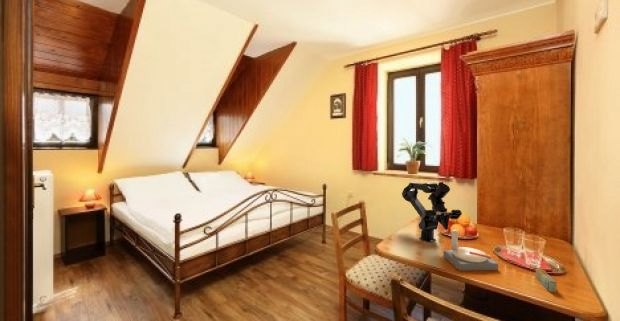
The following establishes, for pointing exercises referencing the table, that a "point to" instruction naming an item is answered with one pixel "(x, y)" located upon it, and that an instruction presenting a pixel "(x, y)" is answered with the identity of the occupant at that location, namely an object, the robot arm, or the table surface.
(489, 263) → the level stand
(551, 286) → the medication box
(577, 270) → the table surface
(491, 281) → the table surface
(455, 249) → the dial
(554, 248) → the table surface
